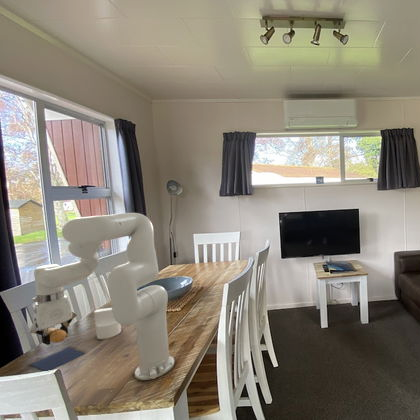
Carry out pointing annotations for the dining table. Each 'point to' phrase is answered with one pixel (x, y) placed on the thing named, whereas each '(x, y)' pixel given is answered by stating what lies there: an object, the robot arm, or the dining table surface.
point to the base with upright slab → (106, 324)
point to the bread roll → (56, 335)
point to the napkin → (57, 359)
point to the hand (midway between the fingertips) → (55, 339)
